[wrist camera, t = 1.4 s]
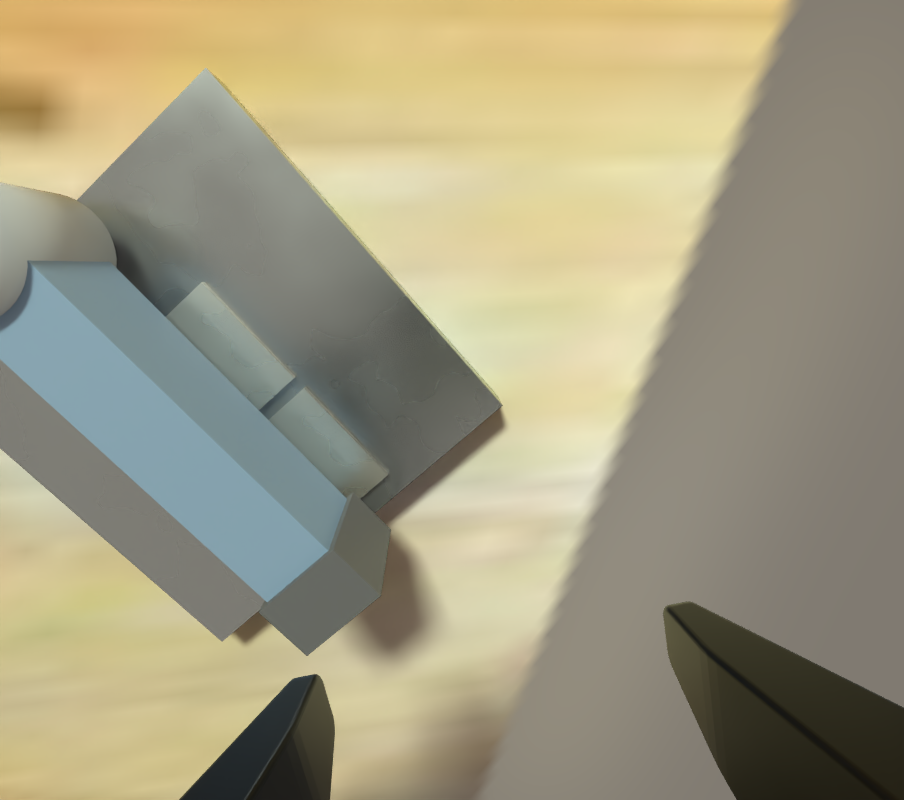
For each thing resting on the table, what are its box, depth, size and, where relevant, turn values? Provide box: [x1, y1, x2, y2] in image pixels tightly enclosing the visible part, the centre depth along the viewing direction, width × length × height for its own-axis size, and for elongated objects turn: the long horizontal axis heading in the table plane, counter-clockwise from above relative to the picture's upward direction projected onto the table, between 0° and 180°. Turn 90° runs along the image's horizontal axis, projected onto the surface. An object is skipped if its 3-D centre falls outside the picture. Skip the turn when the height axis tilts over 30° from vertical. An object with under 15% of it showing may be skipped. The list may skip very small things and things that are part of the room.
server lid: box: [0, 68, 503, 641], centre depth 17 cm, size 12×12×2 cm
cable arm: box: [0, 183, 391, 656], centre depth 14 cm, size 13×3×4 cm, turn 41°
